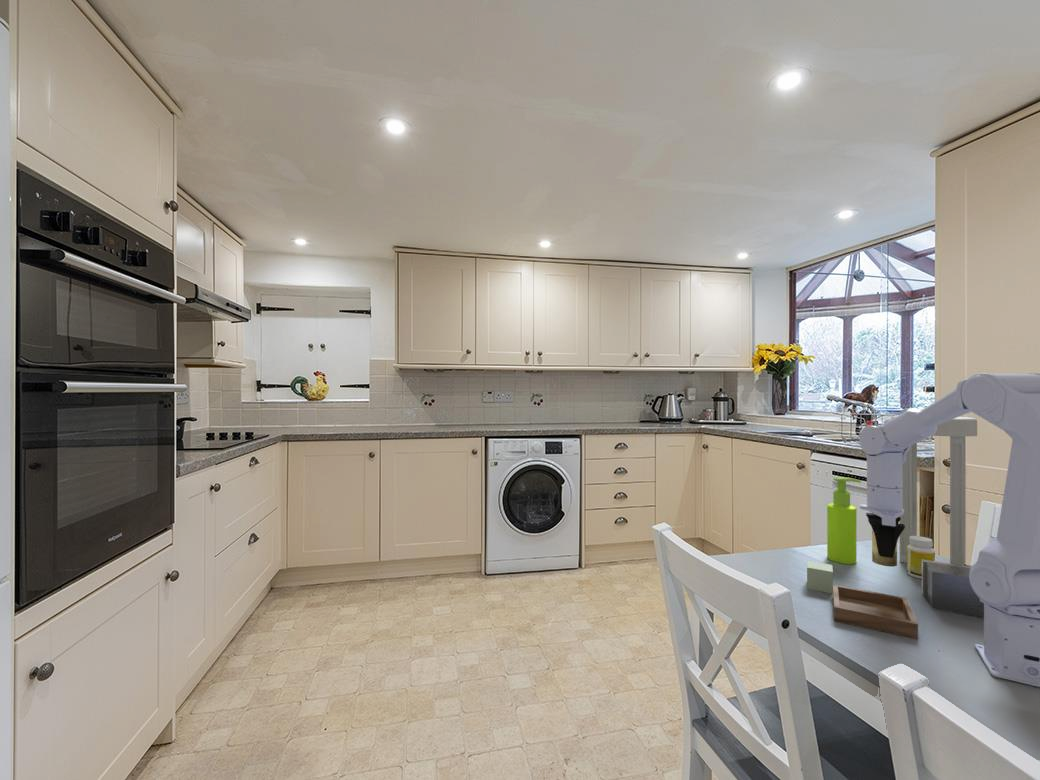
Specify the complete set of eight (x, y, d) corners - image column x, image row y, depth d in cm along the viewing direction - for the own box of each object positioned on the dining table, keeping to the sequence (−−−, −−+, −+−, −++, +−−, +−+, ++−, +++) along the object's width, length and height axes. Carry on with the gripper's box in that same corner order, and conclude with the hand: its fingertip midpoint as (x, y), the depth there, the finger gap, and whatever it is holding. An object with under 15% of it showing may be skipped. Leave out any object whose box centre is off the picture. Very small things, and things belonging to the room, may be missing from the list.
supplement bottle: (940, 581, 102) (940, 542, 102) (915, 579, 103) (915, 541, 103) (926, 572, 107) (926, 535, 107) (902, 571, 108) (902, 534, 108)
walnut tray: (918, 639, 78) (918, 624, 78) (834, 620, 84) (834, 606, 84) (907, 611, 88) (907, 598, 88) (832, 596, 94) (832, 584, 94)
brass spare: (898, 568, 92) (898, 537, 92) (873, 563, 94) (873, 534, 94) (895, 561, 95) (895, 532, 95) (871, 557, 97) (871, 529, 97)
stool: (887, 561, 114) (887, 416, 113) (896, 546, 124) (896, 414, 124) (976, 579, 103) (976, 419, 103) (977, 561, 114) (977, 416, 114)
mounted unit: (994, 620, 85) (994, 581, 85) (928, 607, 90) (928, 570, 90) (981, 604, 91) (981, 567, 91) (921, 593, 96) (921, 558, 96)
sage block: (832, 593, 96) (832, 571, 96) (807, 588, 98) (807, 567, 98) (832, 586, 100) (832, 564, 100) (807, 581, 102) (807, 560, 102)
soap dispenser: (866, 564, 111) (866, 480, 111) (834, 563, 112) (834, 479, 112) (853, 556, 117) (852, 476, 117) (822, 554, 118) (822, 475, 118)
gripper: (857, 478, 103) (857, 540, 103) (862, 490, 91) (862, 560, 91) (898, 481, 99) (898, 545, 99) (909, 494, 87) (909, 567, 87)
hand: (884, 553), depth 95 cm, fingers closed on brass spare, 4 cm apart
